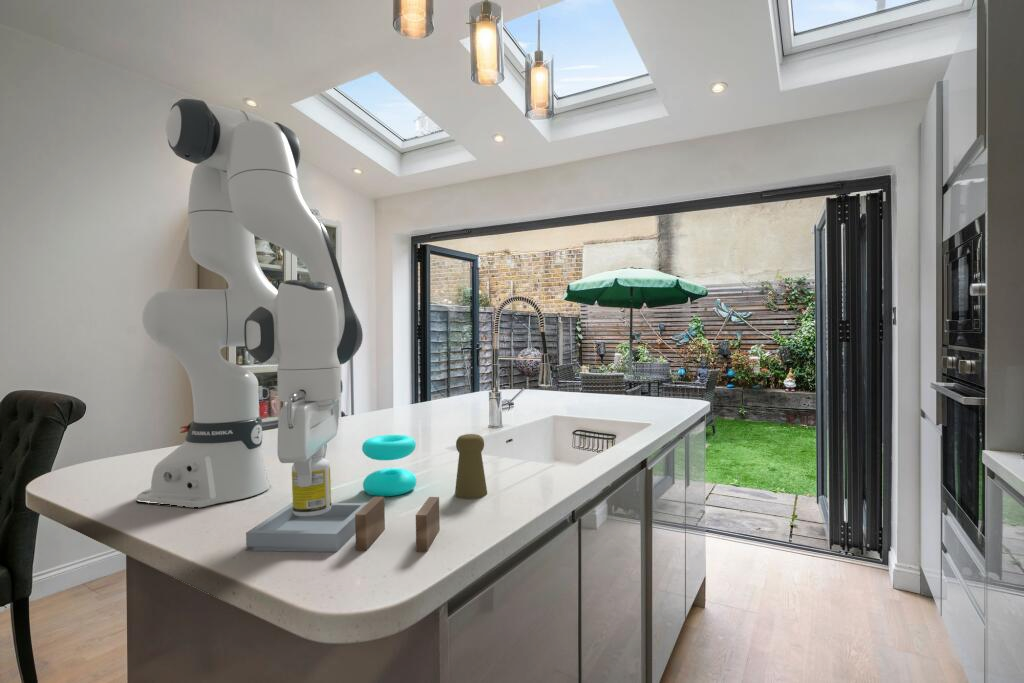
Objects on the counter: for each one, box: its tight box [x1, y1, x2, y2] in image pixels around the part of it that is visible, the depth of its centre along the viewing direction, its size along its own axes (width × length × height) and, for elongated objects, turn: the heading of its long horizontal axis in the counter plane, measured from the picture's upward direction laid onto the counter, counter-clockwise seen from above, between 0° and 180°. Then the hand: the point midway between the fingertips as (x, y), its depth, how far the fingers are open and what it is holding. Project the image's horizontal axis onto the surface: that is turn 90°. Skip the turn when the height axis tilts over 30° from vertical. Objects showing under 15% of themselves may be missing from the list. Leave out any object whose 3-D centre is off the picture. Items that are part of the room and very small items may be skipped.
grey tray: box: [245, 502, 368, 553], centre depth 79 cm, size 13×13×2 cm
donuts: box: [361, 434, 417, 497], centre depth 101 cm, size 10×10×10 cm
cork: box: [454, 433, 488, 500], centre depth 98 cm, size 6×6×11 cm
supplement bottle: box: [291, 446, 332, 516], centre depth 79 cm, size 5×5×10 cm
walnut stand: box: [355, 496, 441, 553], centre depth 76 cm, size 10×8×5 cm
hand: (312, 479), depth 79 cm, fingers closed on supplement bottle, 5 cm apart
